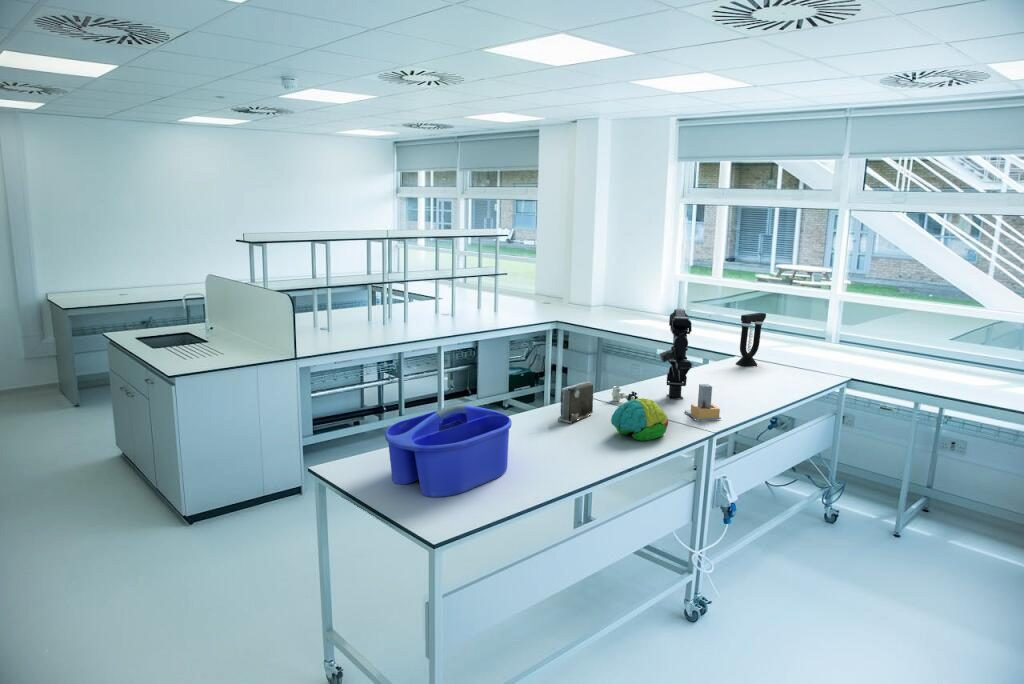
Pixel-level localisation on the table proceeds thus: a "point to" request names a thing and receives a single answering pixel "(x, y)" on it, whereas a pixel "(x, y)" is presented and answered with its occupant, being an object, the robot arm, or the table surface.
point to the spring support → (746, 321)
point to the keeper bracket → (704, 412)
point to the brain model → (640, 419)
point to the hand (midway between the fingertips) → (677, 379)
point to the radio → (576, 402)
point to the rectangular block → (704, 395)
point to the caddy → (449, 449)
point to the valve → (622, 394)
